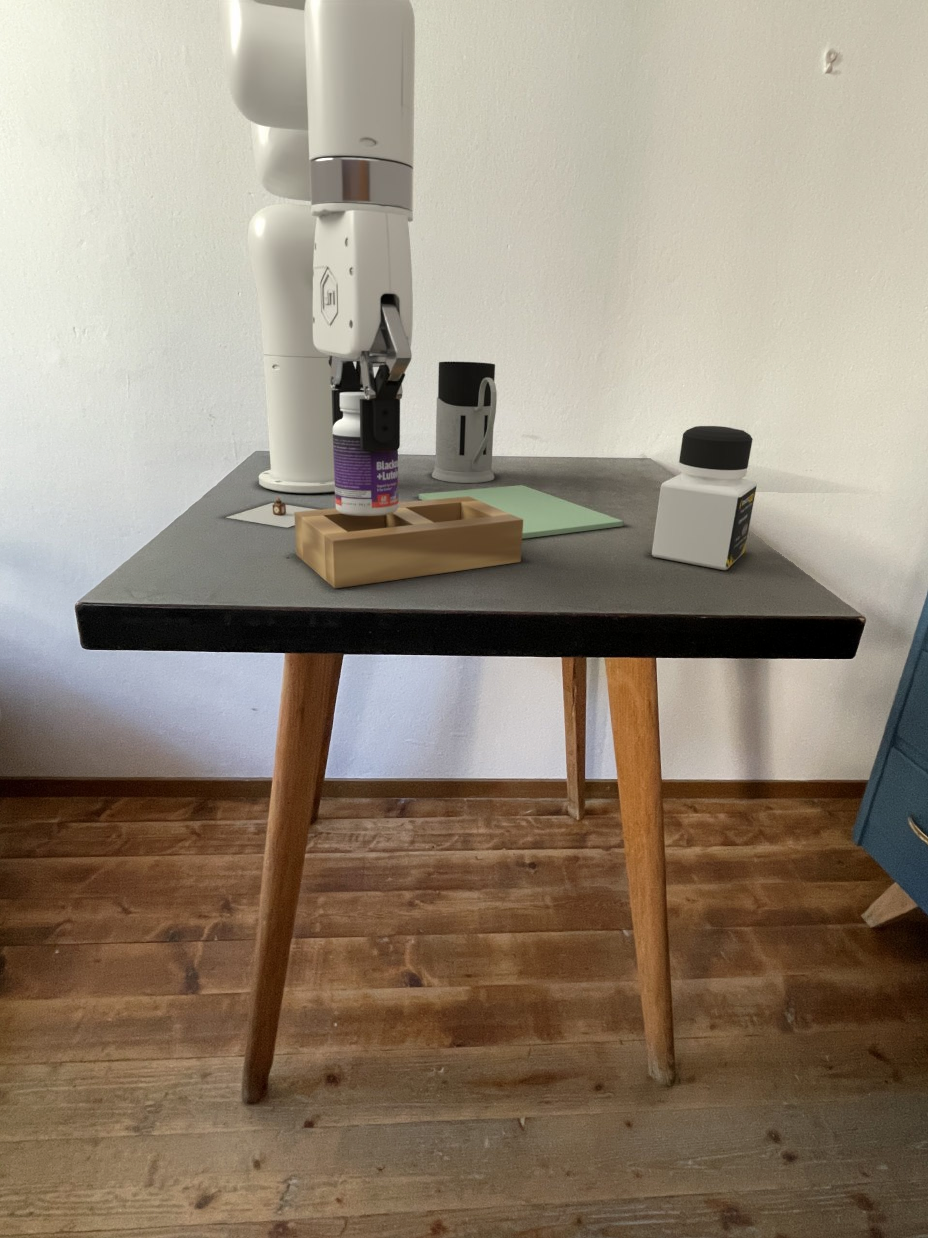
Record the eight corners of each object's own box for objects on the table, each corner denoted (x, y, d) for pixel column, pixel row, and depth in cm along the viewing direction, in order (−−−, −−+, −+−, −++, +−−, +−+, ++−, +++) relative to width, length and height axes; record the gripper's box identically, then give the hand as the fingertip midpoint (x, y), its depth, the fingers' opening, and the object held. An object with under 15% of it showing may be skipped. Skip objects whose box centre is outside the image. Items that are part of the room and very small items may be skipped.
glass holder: (480, 469, 108) (485, 361, 103) (520, 489, 96) (528, 368, 91) (423, 471, 105) (425, 360, 100) (458, 492, 93) (461, 367, 88)
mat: (418, 498, 89) (418, 493, 89) (521, 489, 96) (522, 484, 96) (507, 540, 73) (507, 535, 73) (623, 526, 80) (623, 520, 80)
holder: (296, 555, 67) (294, 511, 65) (467, 534, 75) (468, 496, 74) (334, 589, 59) (332, 540, 57) (520, 562, 67) (523, 519, 66)
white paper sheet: (331, 511, 82) (330, 494, 81) (287, 527, 75) (286, 509, 75) (272, 502, 85) (271, 486, 84) (225, 517, 78) (223, 499, 78)
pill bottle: (388, 519, 61) (385, 395, 57) (326, 515, 61) (320, 393, 58) (406, 506, 66) (404, 391, 62) (348, 502, 66) (344, 390, 63)
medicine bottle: (726, 571, 66) (750, 436, 62) (650, 557, 70) (667, 427, 65) (744, 553, 72) (768, 427, 68) (673, 540, 76) (690, 420, 71)
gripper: (278, 201, 60) (290, 430, 67) (358, 175, 46) (362, 466, 53) (365, 210, 63) (367, 426, 70) (463, 189, 49) (453, 460, 56)
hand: (365, 441), depth 61 cm, fingers closed on pill bottle, 5 cm apart
